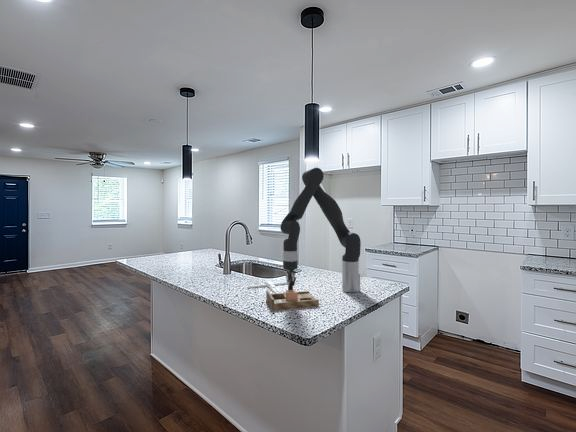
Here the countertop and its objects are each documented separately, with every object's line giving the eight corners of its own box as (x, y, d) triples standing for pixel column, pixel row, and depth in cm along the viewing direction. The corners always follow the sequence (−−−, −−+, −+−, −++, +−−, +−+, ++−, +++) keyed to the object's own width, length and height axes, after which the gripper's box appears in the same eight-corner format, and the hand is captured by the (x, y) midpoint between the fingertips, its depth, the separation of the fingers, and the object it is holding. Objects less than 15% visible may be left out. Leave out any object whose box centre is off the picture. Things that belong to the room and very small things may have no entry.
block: (295, 297, 155) (295, 289, 155) (297, 300, 150) (297, 292, 150) (285, 298, 154) (285, 290, 154) (287, 301, 149) (287, 293, 149)
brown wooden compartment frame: (308, 296, 163) (308, 287, 163) (318, 305, 148) (318, 295, 148) (266, 300, 158) (266, 290, 158) (272, 310, 142) (272, 299, 142)
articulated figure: (258, 295, 158) (244, 279, 186) (258, 302, 159) (244, 286, 186) (305, 289, 168) (286, 275, 196) (305, 296, 168) (286, 281, 196)
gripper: (280, 257, 161) (280, 290, 162) (286, 262, 148) (286, 297, 149) (294, 256, 163) (294, 289, 163) (300, 261, 150) (301, 296, 151)
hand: (290, 292), depth 156 cm, fingers closed
